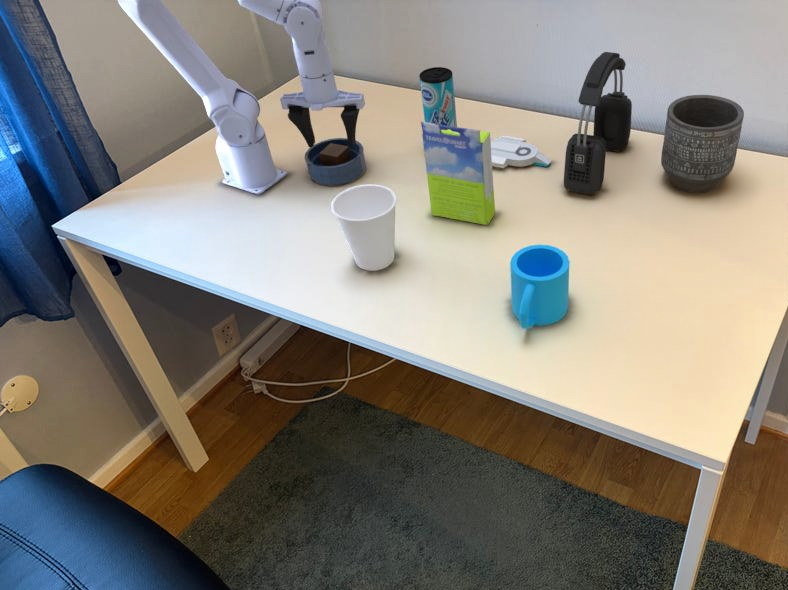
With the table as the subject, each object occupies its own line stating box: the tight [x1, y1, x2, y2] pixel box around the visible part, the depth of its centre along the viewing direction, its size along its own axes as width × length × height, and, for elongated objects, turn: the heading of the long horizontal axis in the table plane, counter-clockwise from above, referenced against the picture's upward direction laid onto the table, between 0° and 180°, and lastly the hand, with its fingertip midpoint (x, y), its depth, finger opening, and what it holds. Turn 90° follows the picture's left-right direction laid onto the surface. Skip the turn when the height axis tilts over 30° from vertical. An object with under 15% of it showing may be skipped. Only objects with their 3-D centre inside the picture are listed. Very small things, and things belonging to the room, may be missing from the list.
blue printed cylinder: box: [418, 66, 458, 127], centre depth 135 cm, size 6×6×15 cm
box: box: [420, 121, 496, 226], centre depth 119 cm, size 10×4×17 cm, turn 68°
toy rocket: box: [490, 135, 552, 169], centre depth 136 cm, size 16×10×2 cm, turn 63°
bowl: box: [304, 137, 367, 187], centre depth 136 cm, size 11×11×4 cm
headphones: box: [563, 51, 633, 196], centre depth 126 cm, size 22×6×20 cm, turn 155°
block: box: [319, 143, 351, 166], centre depth 136 cm, size 4×4×4 cm
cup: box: [330, 183, 398, 272], centre depth 113 cm, size 10×10×11 cm
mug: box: [509, 244, 570, 330], centre depth 103 cm, size 12×8×8 cm
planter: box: [660, 94, 745, 194], centre depth 124 cm, size 12×12×13 cm
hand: (332, 144), depth 134 cm, fingers open, 7 cm apart
